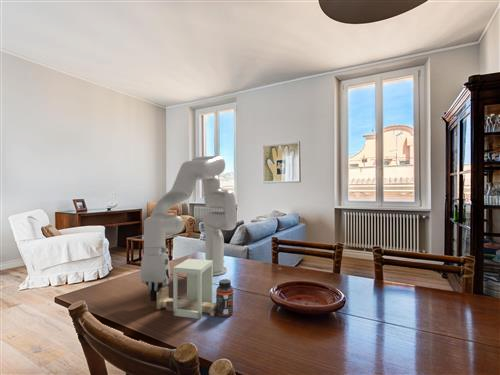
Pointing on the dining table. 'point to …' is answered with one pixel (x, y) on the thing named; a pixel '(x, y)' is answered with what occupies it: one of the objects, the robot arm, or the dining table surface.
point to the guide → (170, 305)
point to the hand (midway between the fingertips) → (155, 299)
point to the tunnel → (194, 285)
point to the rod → (183, 302)
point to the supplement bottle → (224, 298)
